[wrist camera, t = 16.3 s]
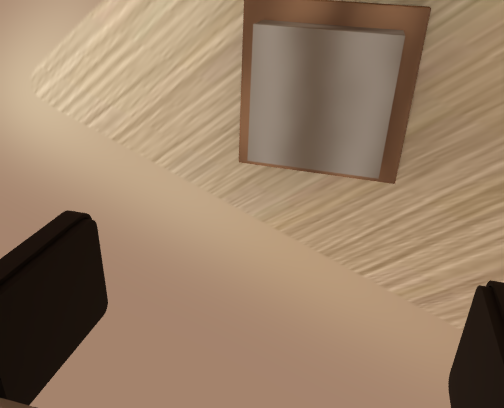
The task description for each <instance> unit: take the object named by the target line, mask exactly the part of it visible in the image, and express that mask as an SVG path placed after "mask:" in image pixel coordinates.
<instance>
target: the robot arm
mask: <svg viewBox="0 0 504 408" xmlns="http://www.w3.org/2000/svg"><path fill="white" fill-rule="evenodd" d="M107 305H108V299H107V292H106V285H105V278H104V271H103V264H102V258H101V250H100V244H99V236H98V229H97V224H96V222H95V221H94V220H92V218H91V216H90V215H89V214H87V213H80V212H75V211H65V212H63V213H61V214H60V215H59V216H57V217H56V218H55V219H54V220H52V221H51V222H50V223H48V224H47V225H45V226H44V227H43V228H41V229H40V230H39V231H37V232H36V233H35V234H33V235H32V236H31V237H29V238H28V239H27V240H25V241H24V242H23V243H21V244H20V245H19V246H17V247H16V248H14V249H13V250H12V251H10V252H9V253H8V254H6V255H5V256H4V257H2V258H1V259H0V408H36V407H32V406H29V405H30V403H31V402H32V401H33V400H34V399H35V398H36V396H37V395H38V394H39V393H40V391H41V390H42V389H43V388H44V387H45V386H46V384H47V383H48V382H49V381H50V379H51V378H52V377H53V376H54V375H55V373H56V372H57V371H58V370H59V369H60V367H61V366H62V365H63V364H64V363H65V361H66V360H67V359H68V358H69V357H70V355H71V354H72V353H73V352H74V350H75V349H76V348H77V347H78V346H79V344H80V343H81V342H82V341H83V340H84V338H85V337H86V336H87V335H88V334H89V332H90V331H91V330H92V329H93V327H94V326H95V325H96V324H97V322H98V321H99V320H100V319H101V318H102V317H103V315H104V314H105V312H106V309H107ZM449 396H450V403H451V408H504V283H502V282H496V281H489V282H488V283H487V285H486V286H480V285H479V286H478V287H477V289H476V292H475V295H474V298H473V301H472V304H471V308H470V311H469V314H468V317H467V320H466V324H465V327H464V330H463V333H462V337H461V340H460V343H459V346H458V350H457V353H456V355H455V359H454V362H453V365H452V368H451V372H450V376H449Z"/></svg>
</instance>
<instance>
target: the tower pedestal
mask: <svg viewBox="0 0 504 408" xmlns="http://www.w3.org/2000/svg"><path fill="white" fill-rule="evenodd" d="M430 11H431V8H430V7H423V6H408V5H392V4H377V3H361V2H345V1H330V0H244V20H243V50H242V81H241V111H240V141H239V162H242V163H249V164H256V165H263V166H271V167H278V168H285V169H292V170H299V171H307V172H314V173H321V174H328V175H335V176H343V177H350V178H357V179H364V180H371V181H378V182H386V183H393V184H395V181H396V176H397V171H398V166H399V161H400V157H401V152H402V147H403V142H404V137H405V132H406V127H407V123H408V118H409V113H410V108H411V103H412V98H413V93H414V89H415V84H416V79H417V74H418V69H419V64H420V59H421V55H422V50H423V45H424V40H425V35H426V30H427V25H428V21H429V16H430Z"/></svg>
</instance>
